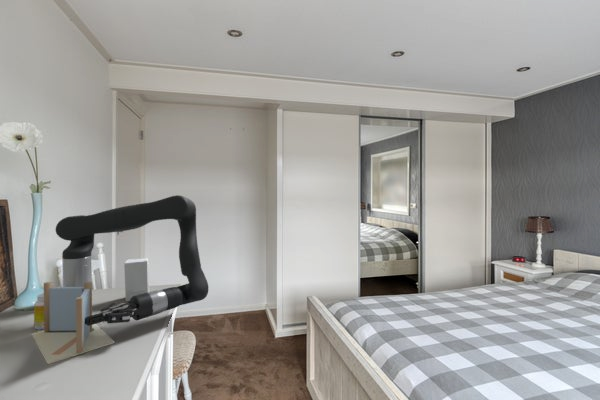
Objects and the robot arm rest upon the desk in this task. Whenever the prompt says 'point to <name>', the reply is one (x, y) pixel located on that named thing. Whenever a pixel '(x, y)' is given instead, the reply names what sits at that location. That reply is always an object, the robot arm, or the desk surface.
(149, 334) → the desk surface
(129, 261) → the skincare box
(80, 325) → the fence panel
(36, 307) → the supplement bottle
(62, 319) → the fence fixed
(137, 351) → the desk surface
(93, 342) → the card
